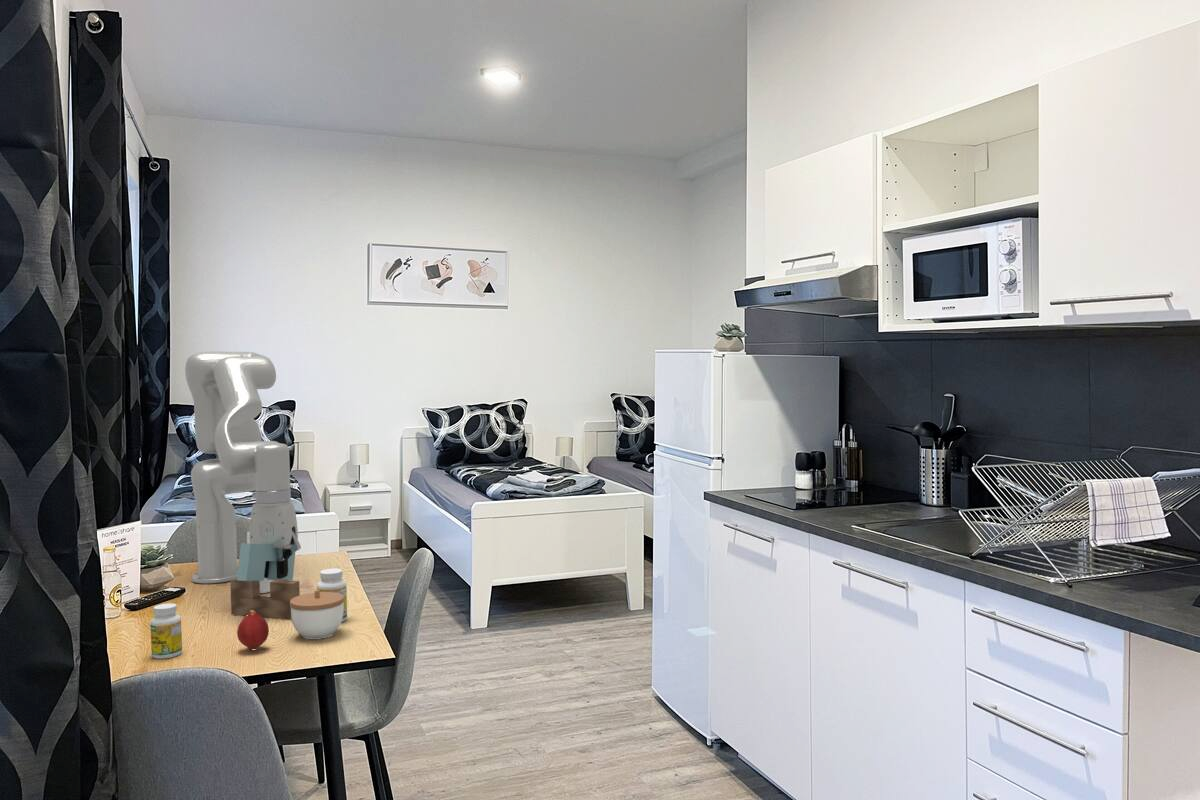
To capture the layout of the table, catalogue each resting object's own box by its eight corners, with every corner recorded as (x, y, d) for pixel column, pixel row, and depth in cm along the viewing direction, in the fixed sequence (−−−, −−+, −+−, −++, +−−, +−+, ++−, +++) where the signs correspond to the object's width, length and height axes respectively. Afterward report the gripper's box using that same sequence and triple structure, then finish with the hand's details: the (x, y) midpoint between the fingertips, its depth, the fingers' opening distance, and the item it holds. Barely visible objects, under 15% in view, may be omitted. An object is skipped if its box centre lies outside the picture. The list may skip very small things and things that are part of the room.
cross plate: (246, 580, 191) (250, 543, 193) (236, 580, 192) (240, 543, 193) (292, 580, 206) (296, 545, 208) (283, 579, 207) (287, 545, 208)
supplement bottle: (188, 651, 173) (186, 603, 173) (167, 660, 168) (165, 610, 167) (166, 649, 175) (164, 601, 174) (144, 658, 169) (143, 608, 169)
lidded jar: (299, 628, 188) (297, 584, 187) (350, 626, 188) (349, 583, 188) (284, 644, 177) (282, 598, 176) (338, 642, 177) (337, 596, 177)
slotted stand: (231, 615, 198) (230, 579, 198) (238, 612, 201) (237, 577, 200) (293, 619, 194) (292, 583, 194) (300, 616, 196) (299, 580, 196)
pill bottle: (319, 617, 195) (318, 568, 195) (348, 615, 196) (347, 566, 196) (316, 625, 189) (314, 574, 189) (346, 623, 190) (344, 573, 190)
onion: (243, 645, 176) (242, 606, 176) (272, 644, 177) (271, 605, 176) (233, 655, 170) (232, 614, 170) (264, 654, 171) (263, 613, 170)
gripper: (232, 499, 200) (235, 579, 201) (294, 500, 196) (297, 582, 197) (253, 494, 208) (256, 572, 208) (313, 495, 203) (316, 574, 204)
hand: (276, 576), depth 203 cm, fingers closed on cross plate, 2 cm apart
